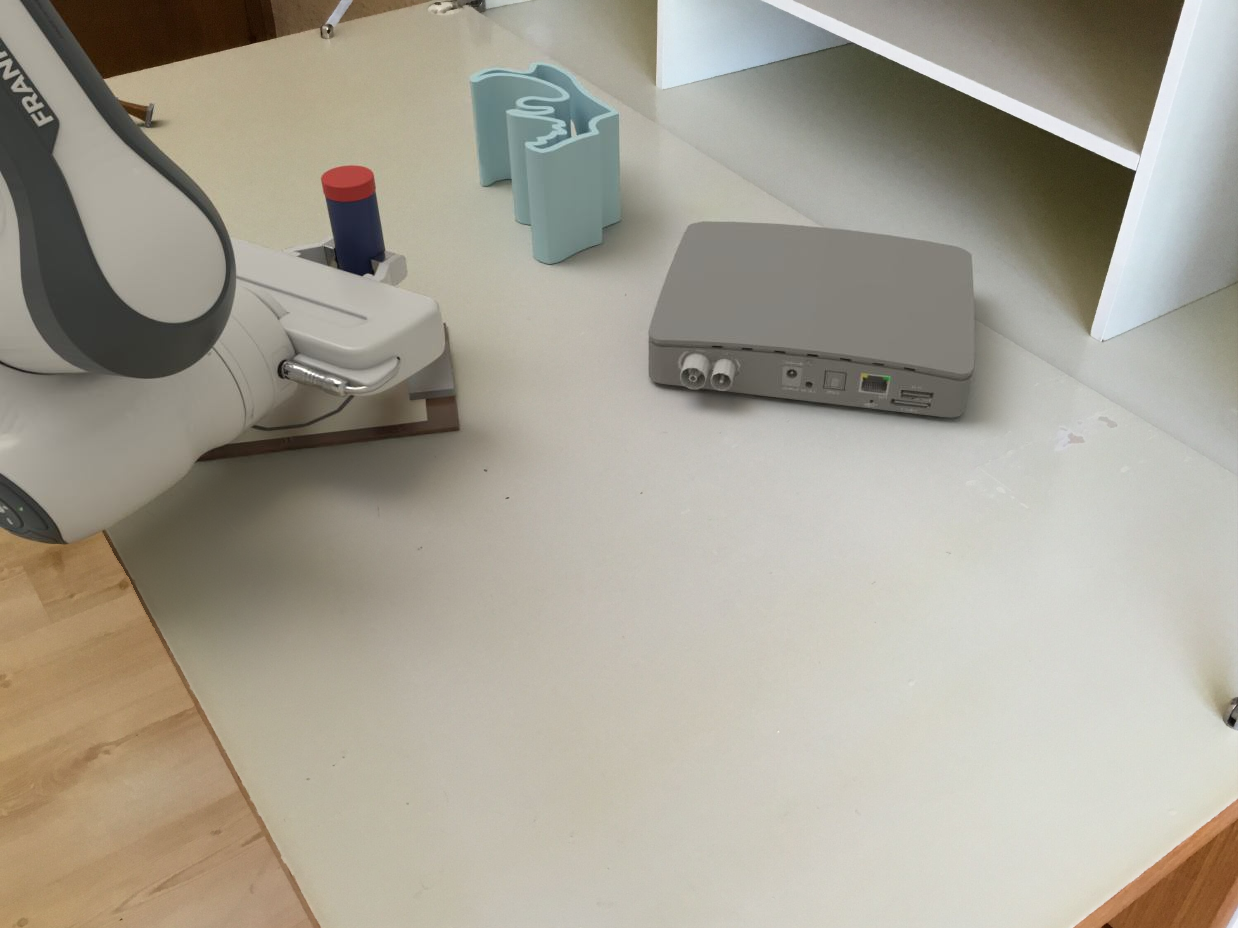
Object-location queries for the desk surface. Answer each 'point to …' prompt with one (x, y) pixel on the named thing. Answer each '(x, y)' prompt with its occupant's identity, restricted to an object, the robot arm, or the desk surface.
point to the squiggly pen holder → (549, 154)
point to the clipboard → (354, 415)
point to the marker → (353, 217)
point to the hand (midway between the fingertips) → (370, 254)
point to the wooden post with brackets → (139, 111)
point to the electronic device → (817, 317)
